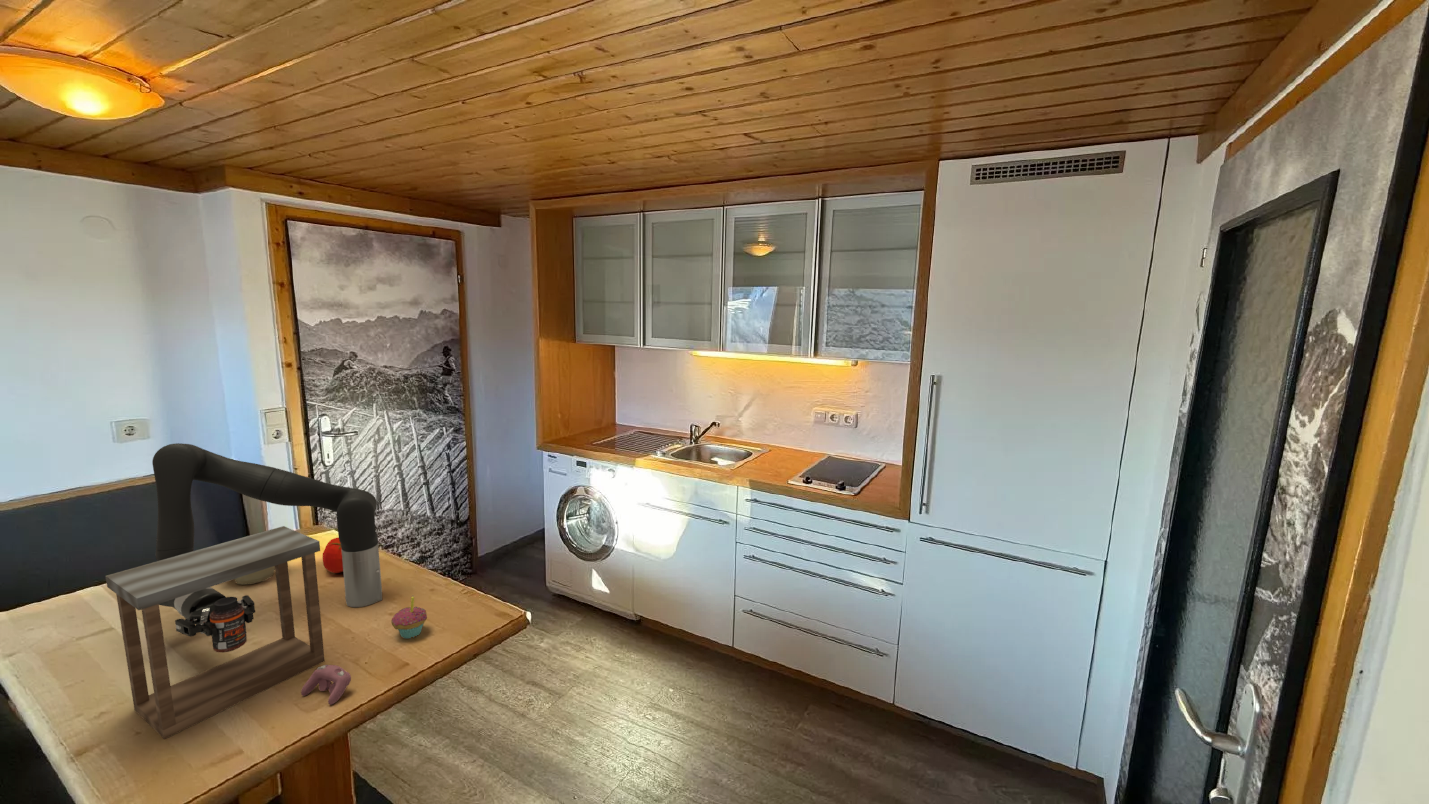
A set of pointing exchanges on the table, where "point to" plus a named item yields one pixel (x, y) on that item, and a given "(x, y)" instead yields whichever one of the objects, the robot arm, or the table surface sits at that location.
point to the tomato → (333, 556)
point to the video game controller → (328, 681)
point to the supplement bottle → (228, 625)
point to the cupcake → (409, 620)
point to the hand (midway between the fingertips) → (232, 625)
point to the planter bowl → (256, 576)
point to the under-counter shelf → (240, 675)
